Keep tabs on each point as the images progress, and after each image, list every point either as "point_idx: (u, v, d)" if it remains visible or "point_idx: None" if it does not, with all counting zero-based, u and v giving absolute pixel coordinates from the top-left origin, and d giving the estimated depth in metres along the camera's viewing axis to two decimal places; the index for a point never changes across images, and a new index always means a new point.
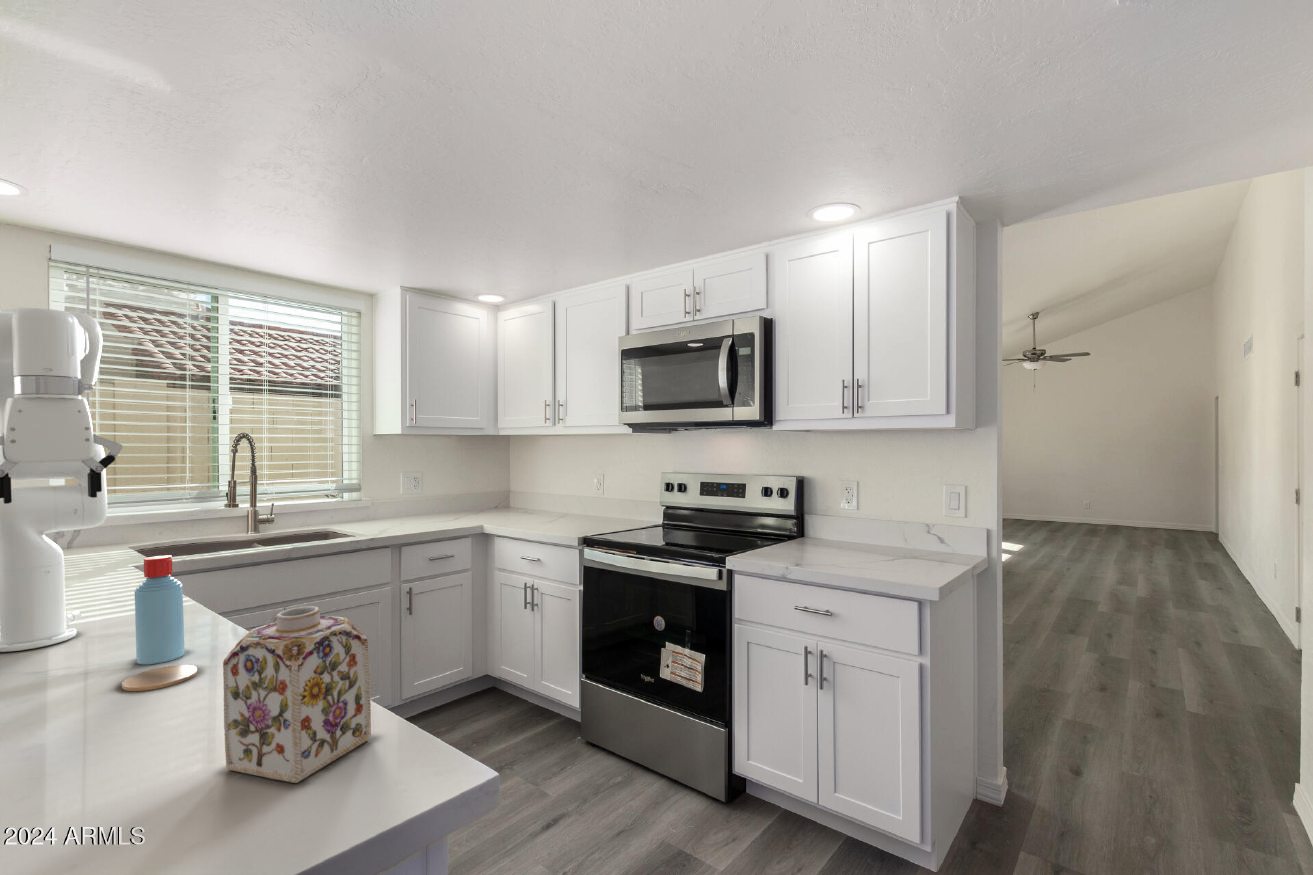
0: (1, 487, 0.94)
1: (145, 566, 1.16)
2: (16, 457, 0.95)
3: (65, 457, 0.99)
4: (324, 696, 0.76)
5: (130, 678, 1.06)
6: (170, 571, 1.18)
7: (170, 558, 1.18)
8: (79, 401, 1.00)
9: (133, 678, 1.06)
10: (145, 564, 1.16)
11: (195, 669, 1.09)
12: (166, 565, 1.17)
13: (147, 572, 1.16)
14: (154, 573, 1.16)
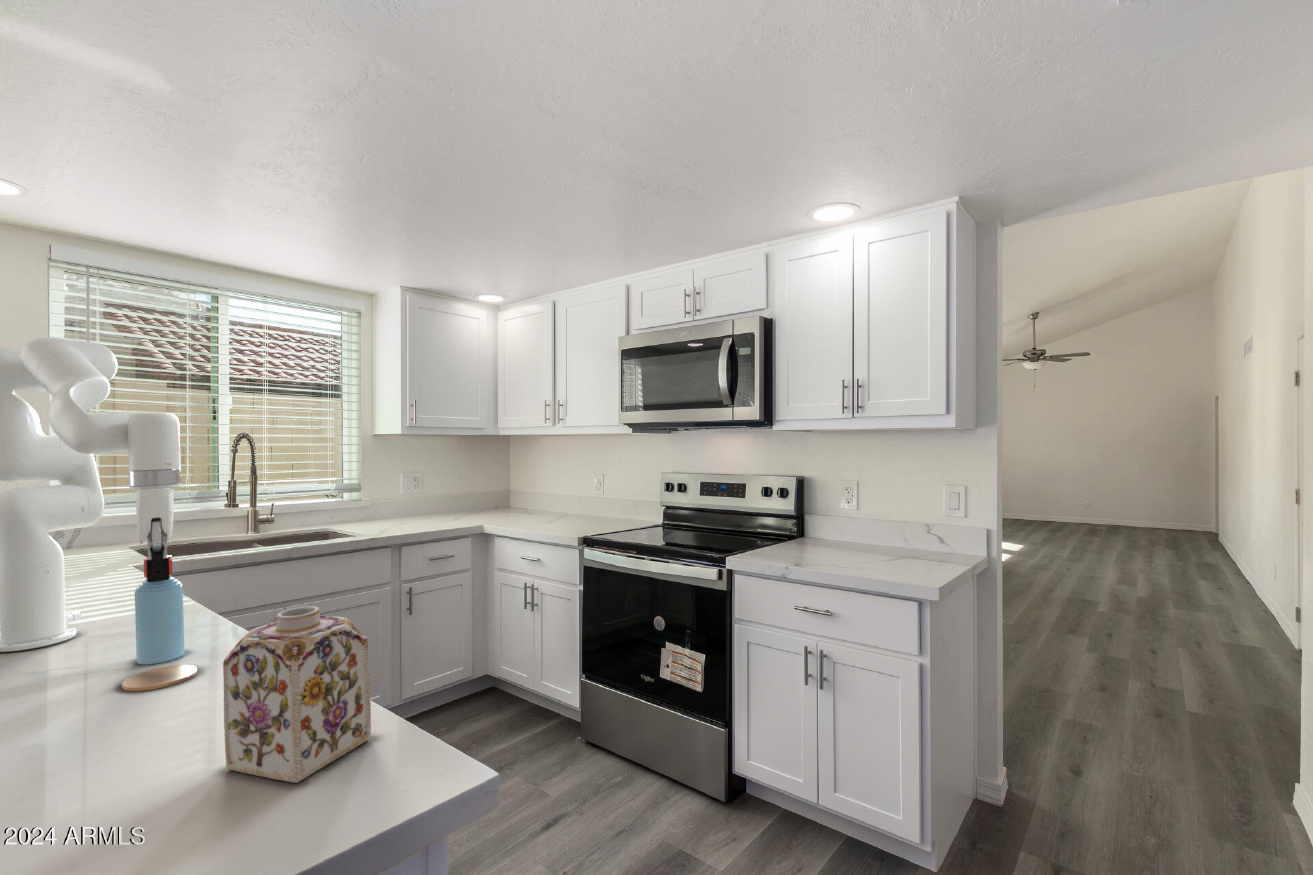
0: (163, 567, 1.16)
1: (145, 566, 1.16)
2: None
3: None
4: (324, 696, 0.76)
5: (130, 678, 1.06)
6: (170, 571, 1.18)
7: (170, 558, 1.18)
8: None
9: (133, 678, 1.06)
10: (145, 564, 1.16)
11: (195, 669, 1.09)
12: None
13: None
14: None
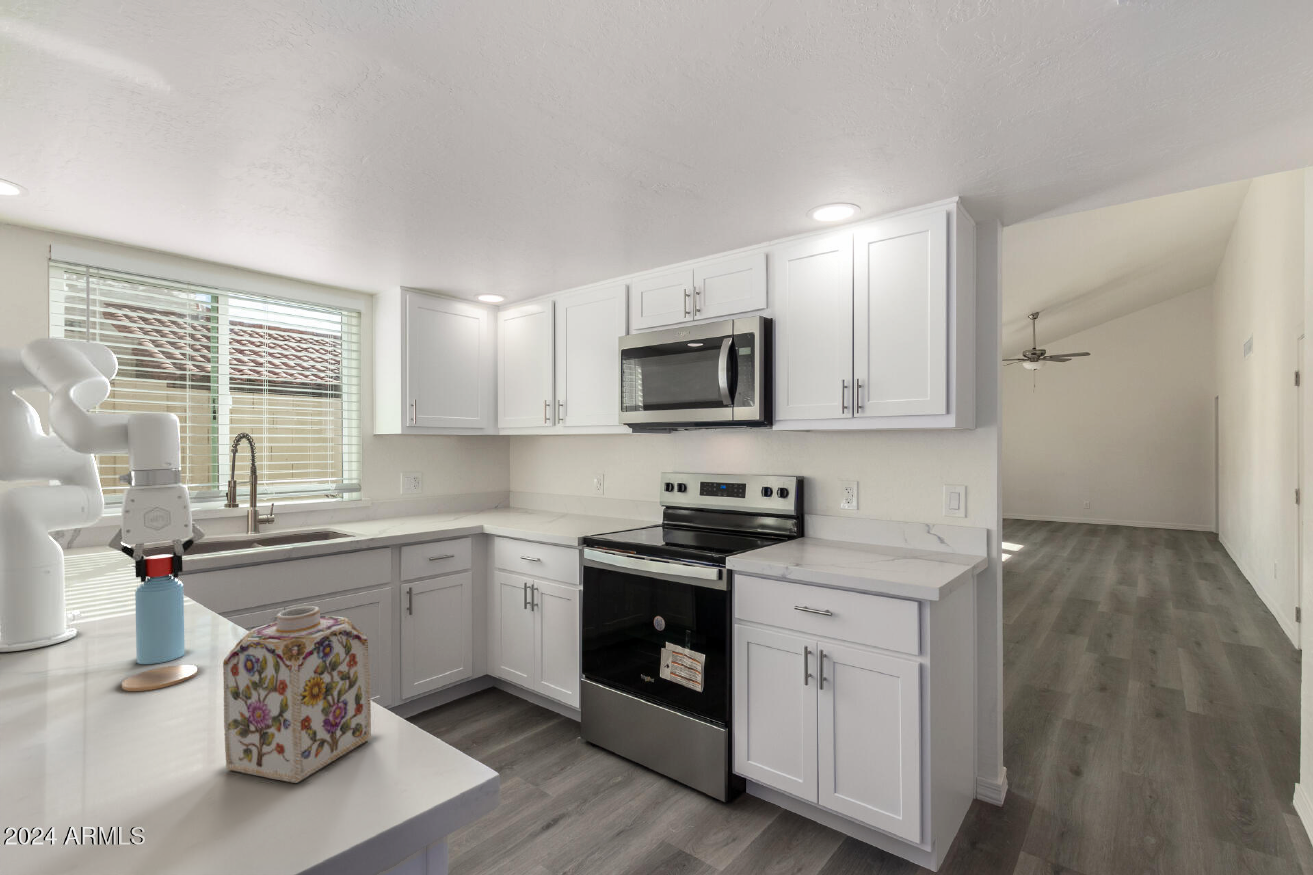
0: None
1: (165, 564, 1.17)
2: None
3: None
4: (324, 696, 0.76)
5: (130, 678, 1.06)
6: None
7: None
8: None
9: (133, 678, 1.06)
10: (165, 562, 1.17)
11: (195, 669, 1.09)
12: None
13: (168, 570, 1.17)
14: (172, 569, 1.18)
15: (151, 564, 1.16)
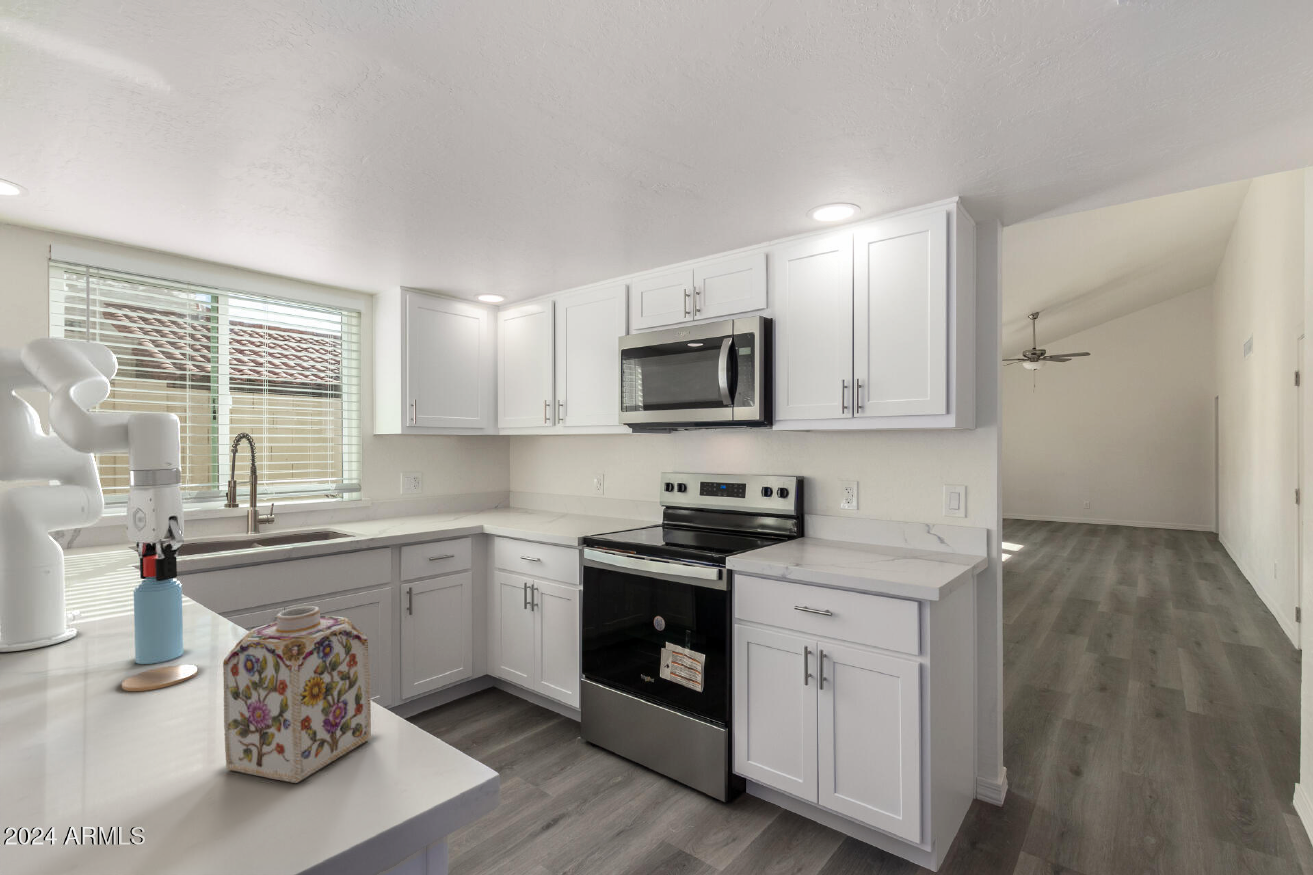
0: None
1: None
2: None
3: None
4: (324, 696, 0.76)
5: (130, 678, 1.06)
6: None
7: None
8: None
9: (133, 678, 1.06)
10: None
11: (195, 669, 1.09)
12: None
13: None
14: None
15: None
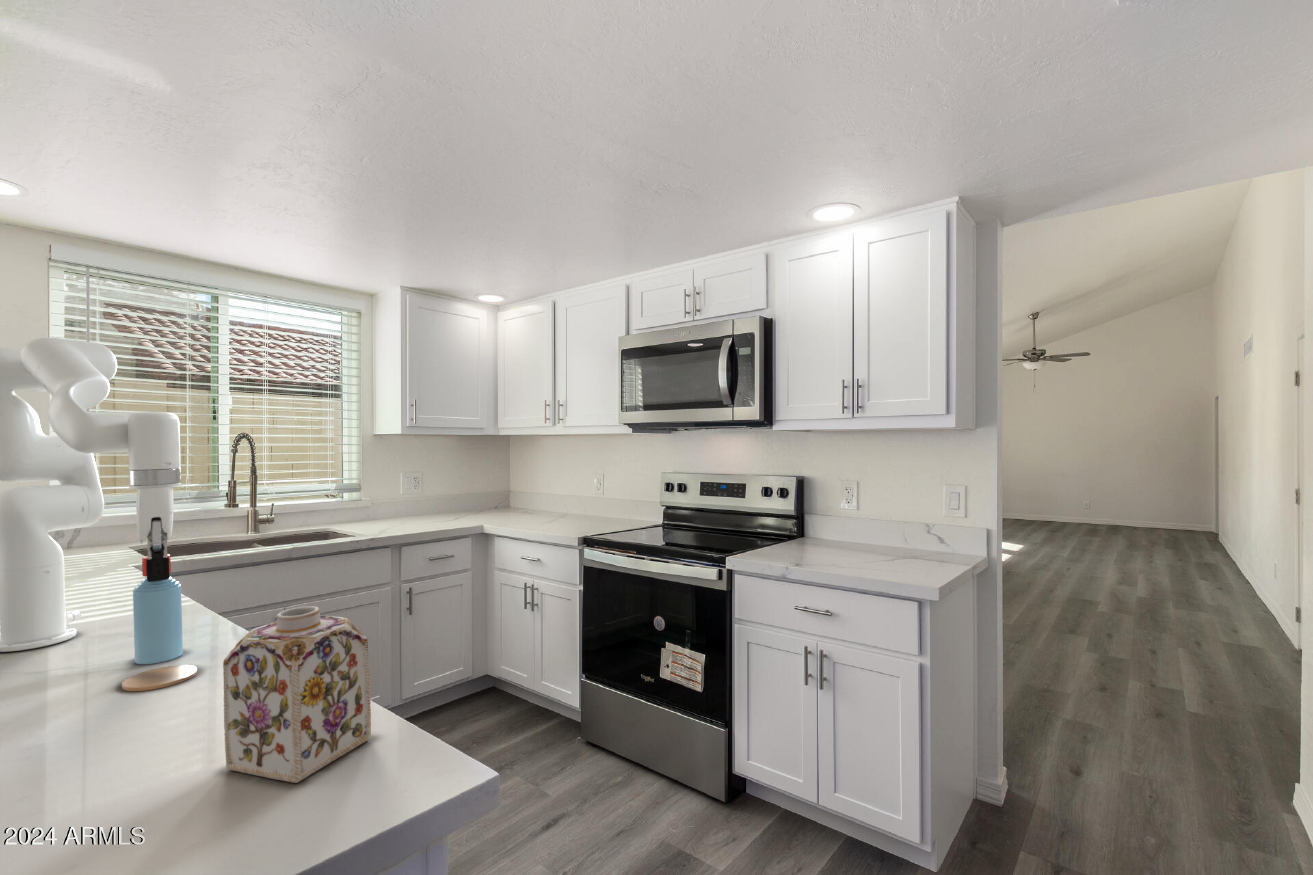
0: (163, 566, 1.16)
1: None
2: None
3: None
4: (324, 696, 0.76)
5: (130, 678, 1.06)
6: None
7: None
8: None
9: (133, 678, 1.06)
10: None
11: (195, 669, 1.09)
12: None
13: None
14: None
15: None
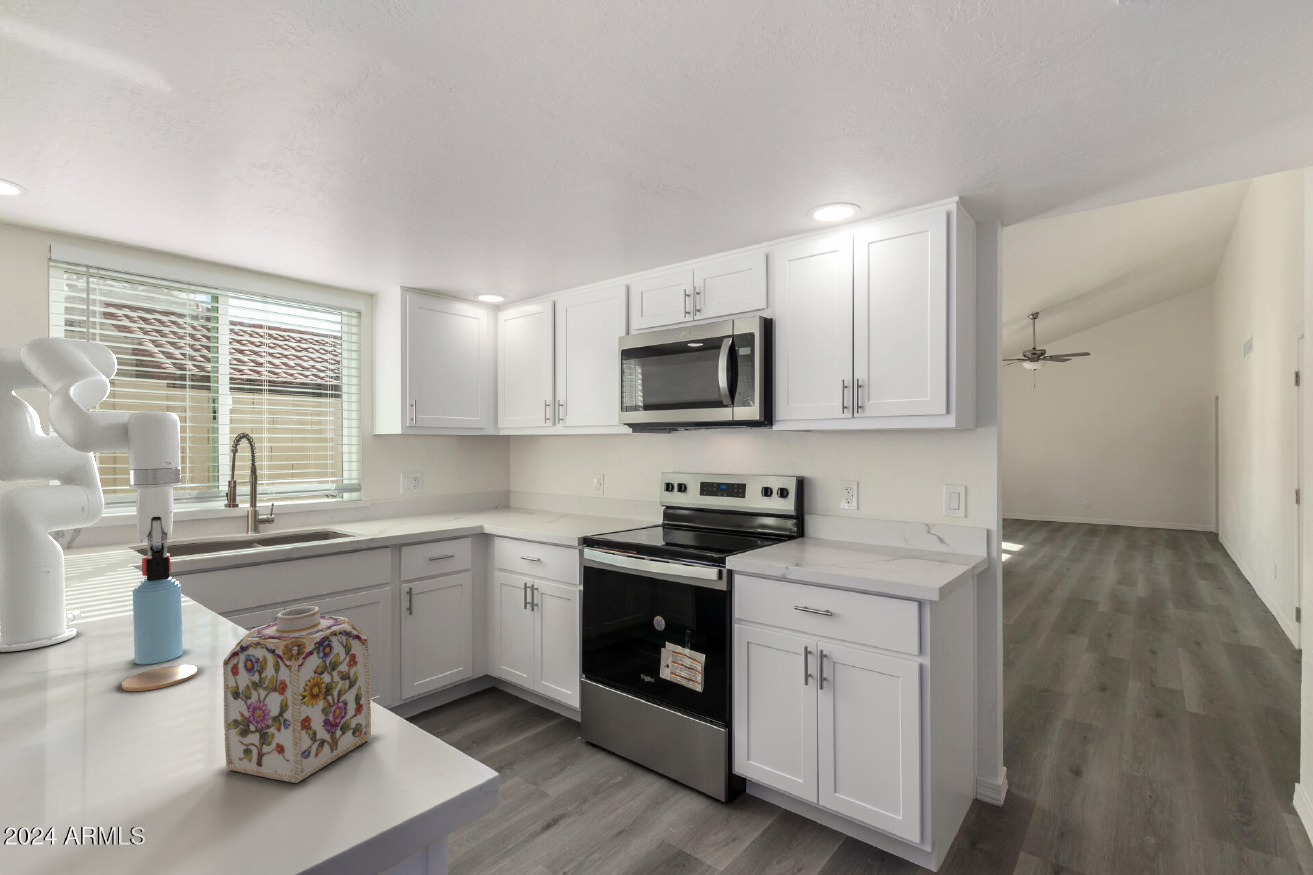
0: (163, 566, 1.16)
1: None
2: None
3: None
4: (324, 696, 0.76)
5: (130, 678, 1.06)
6: None
7: None
8: None
9: (133, 678, 1.06)
10: None
11: (195, 669, 1.09)
12: (145, 566, 1.16)
13: None
14: None
15: None
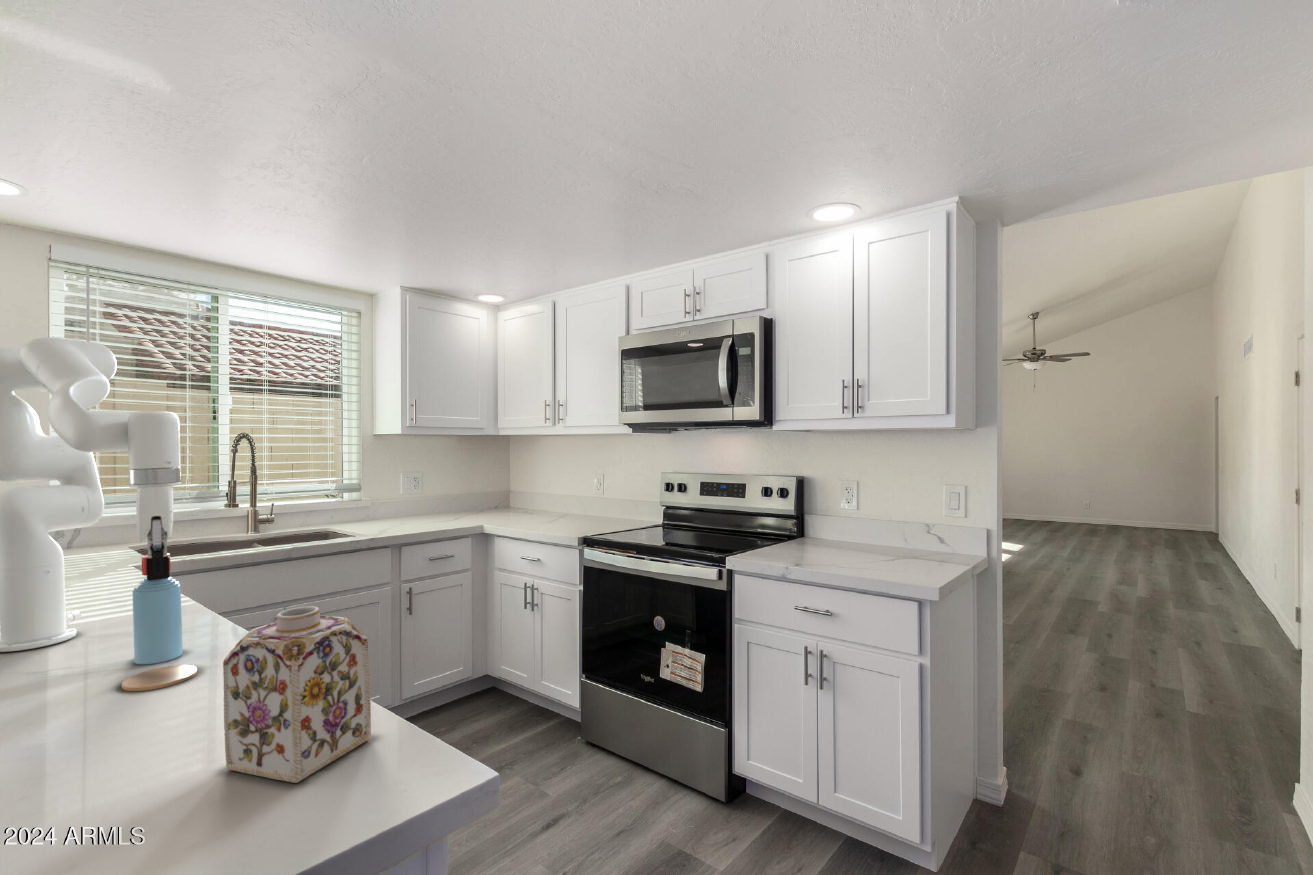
0: (163, 565, 1.16)
1: (143, 564, 1.16)
2: None
3: None
4: (324, 696, 0.76)
5: (130, 678, 1.06)
6: None
7: None
8: None
9: (133, 678, 1.06)
10: (143, 562, 1.16)
11: (195, 669, 1.09)
12: None
13: (145, 570, 1.16)
14: None
15: None
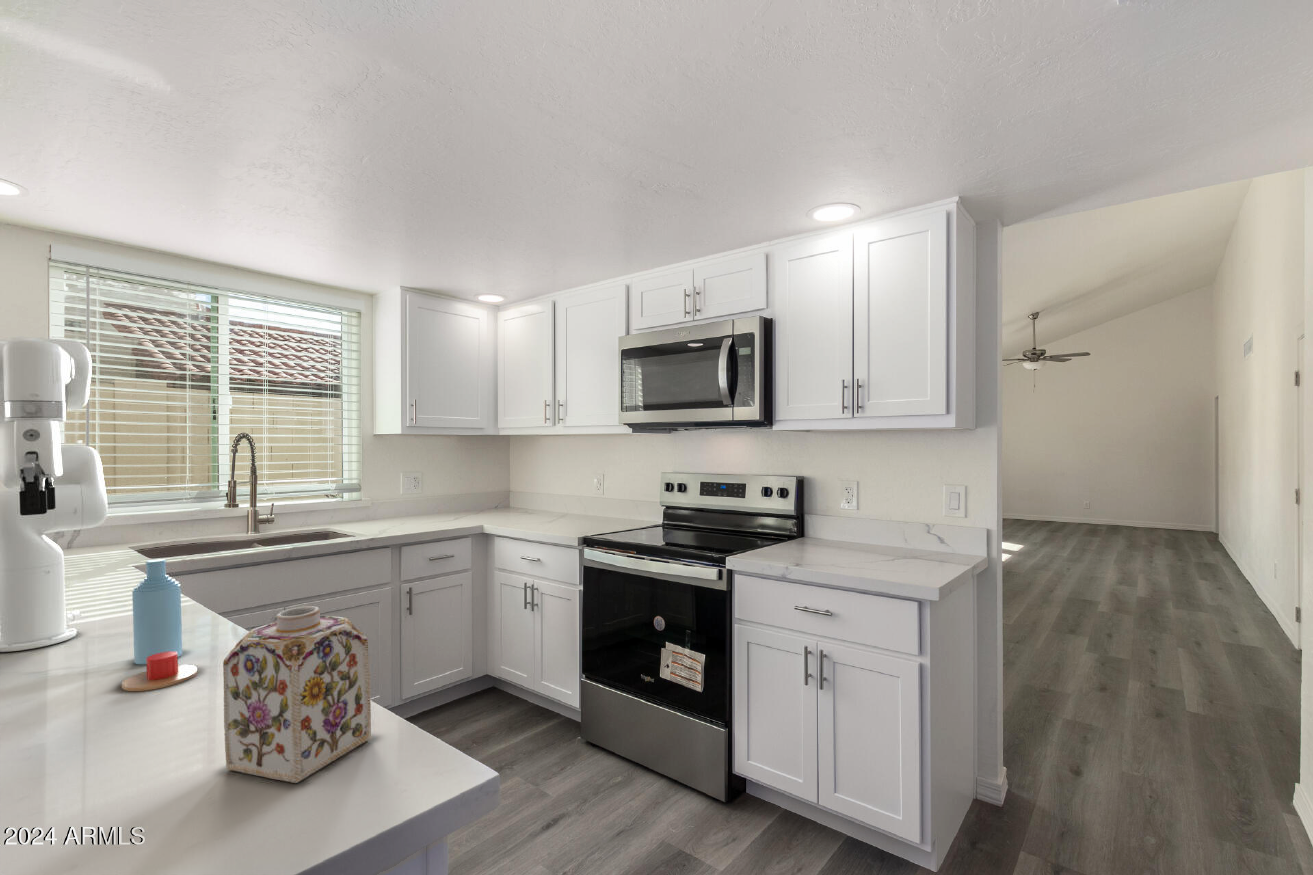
0: None
1: None
2: None
3: None
4: (324, 696, 0.76)
5: (130, 678, 1.06)
6: None
7: None
8: (14, 423, 1.06)
9: (133, 678, 1.06)
10: None
11: (195, 669, 1.09)
12: None
13: None
14: None
15: (175, 660, 1.07)
